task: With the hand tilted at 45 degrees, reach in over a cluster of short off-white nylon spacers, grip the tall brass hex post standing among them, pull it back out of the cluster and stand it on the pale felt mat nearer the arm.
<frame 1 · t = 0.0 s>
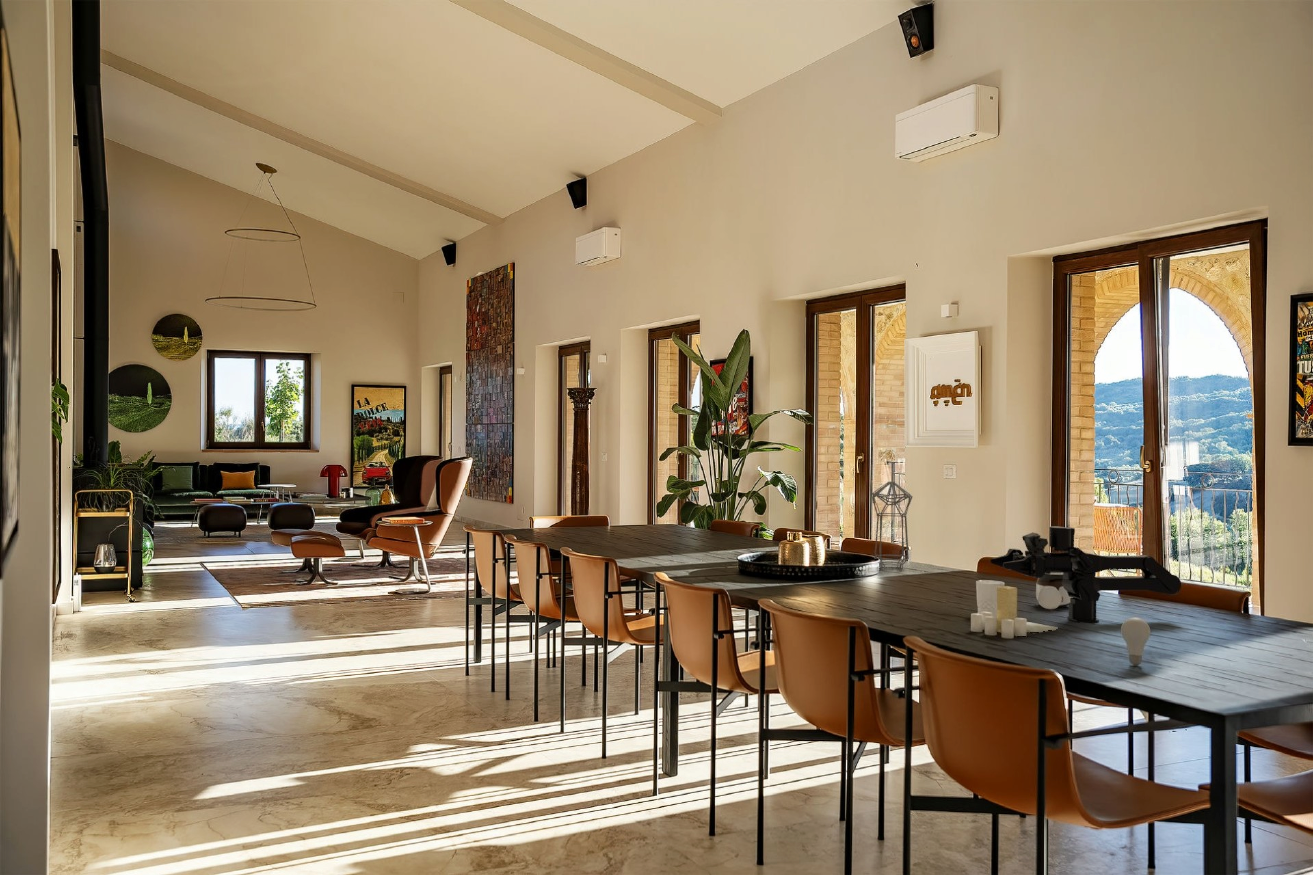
hand: (996, 562, 286), 17 cm above the table, tool horizontal, fingers open, 9 cm apart
lightbulb: (1135, 666, 230), on the table
white cup: (990, 616, 294), on the table
spread jar: (1053, 607, 311), on the table
geometric lantern: (890, 569, 400), on the table
spacers: (1006, 631, 270), on the table
brass post: (1006, 631, 270), on the table
mat: (1030, 628, 275), on the table
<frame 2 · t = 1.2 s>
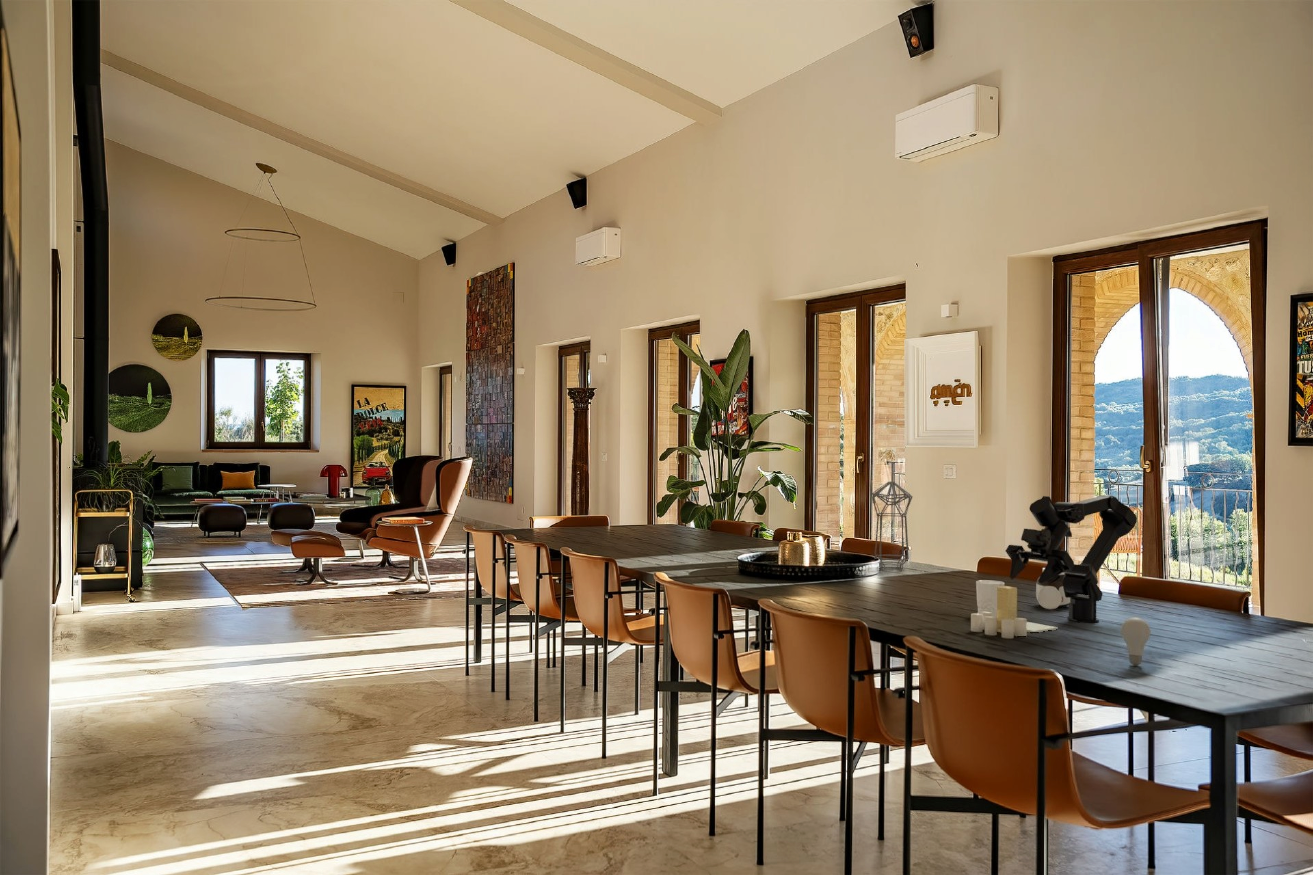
hand: (1025, 580, 274), 13 cm above the table, tool tilted 45°, fingers open, 9 cm apart
nothing on the table moved.
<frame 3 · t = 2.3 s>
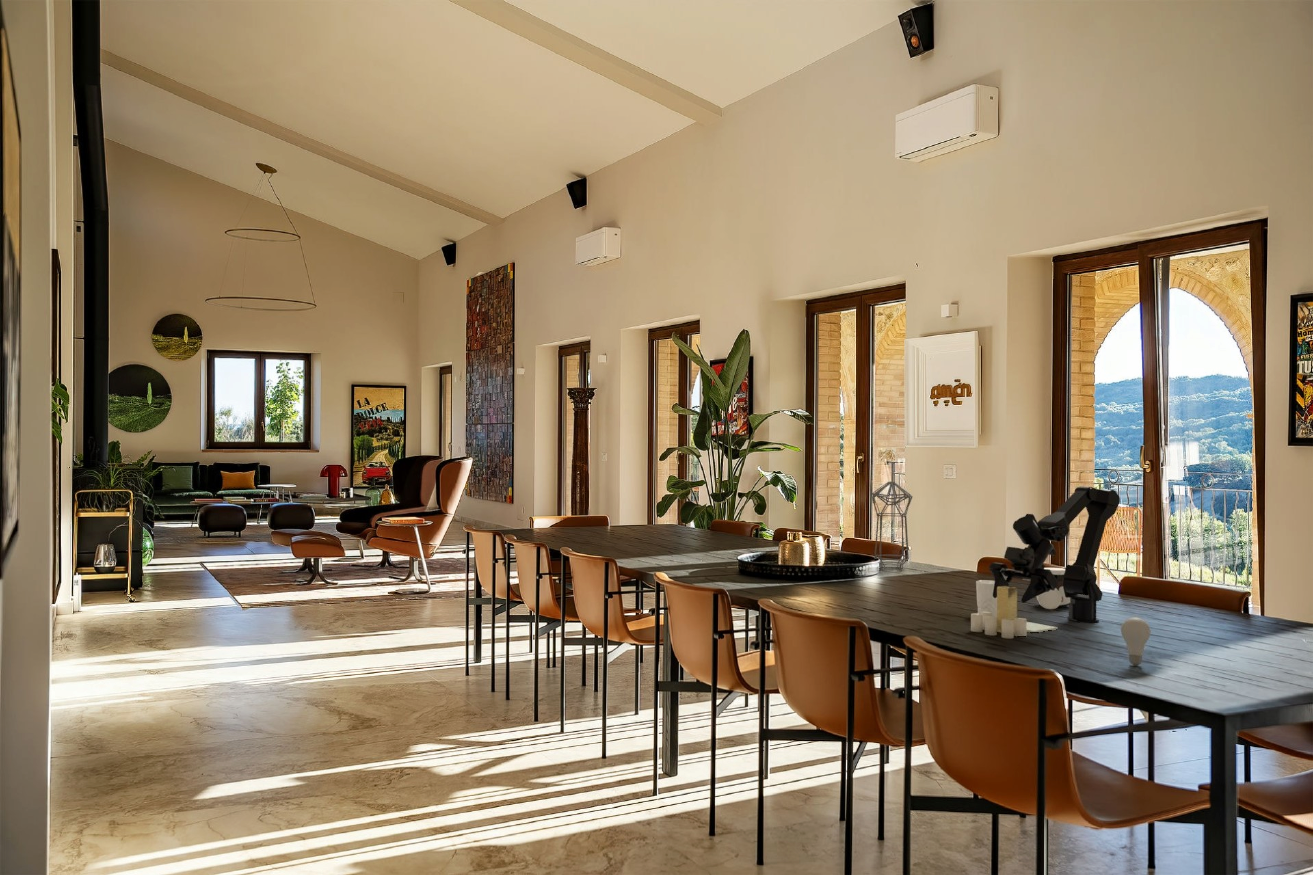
hand: (1007, 599, 270), 9 cm above the table, tool tilted 45°, fingers open, 9 cm apart
nothing on the table moved.
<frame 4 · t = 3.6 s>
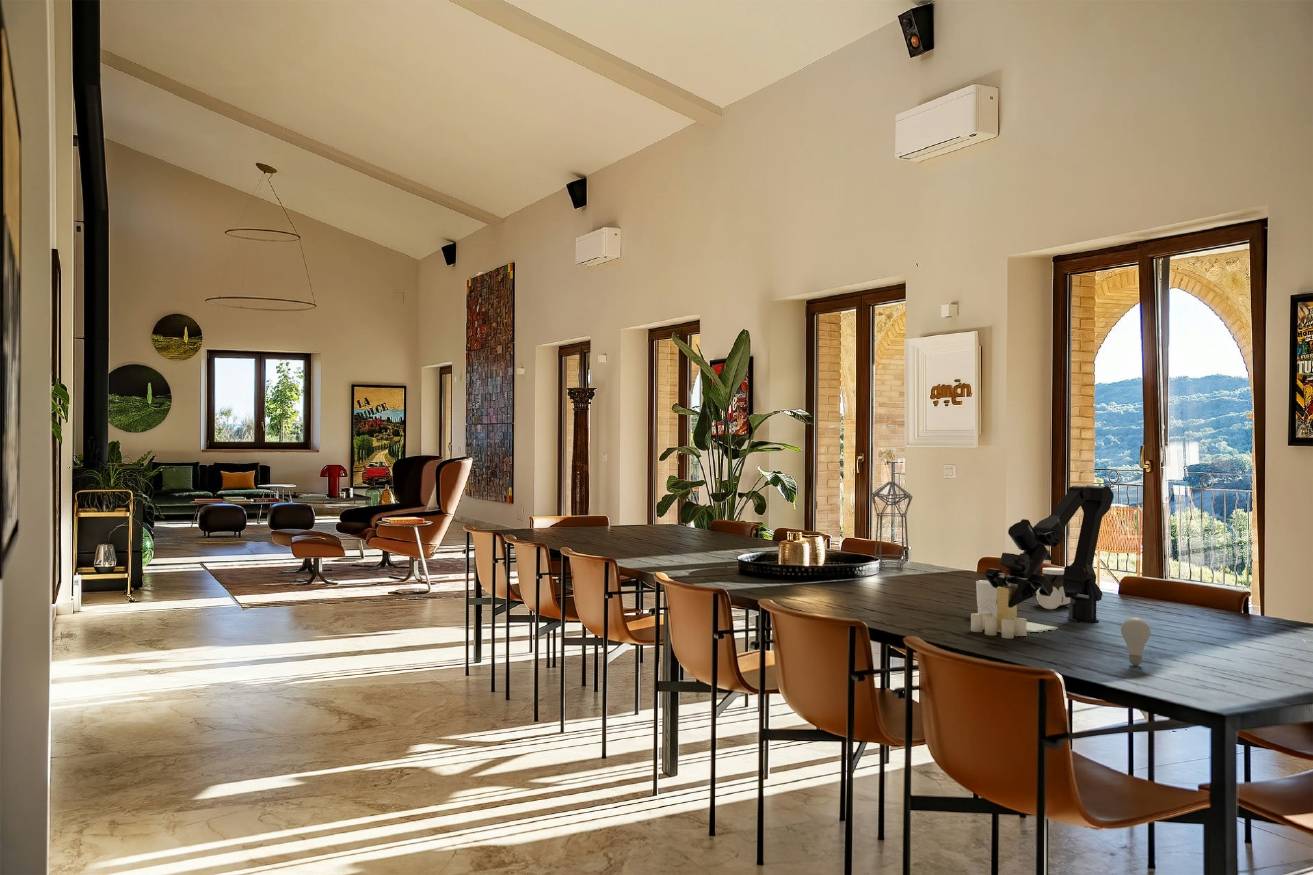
hand: (1003, 605, 269), 7 cm above the table, tool tilted 45°, fingers closed on brass post, 4 cm apart
brass post: (1006, 631, 270), on the table, touching gripper
everything else where it was.
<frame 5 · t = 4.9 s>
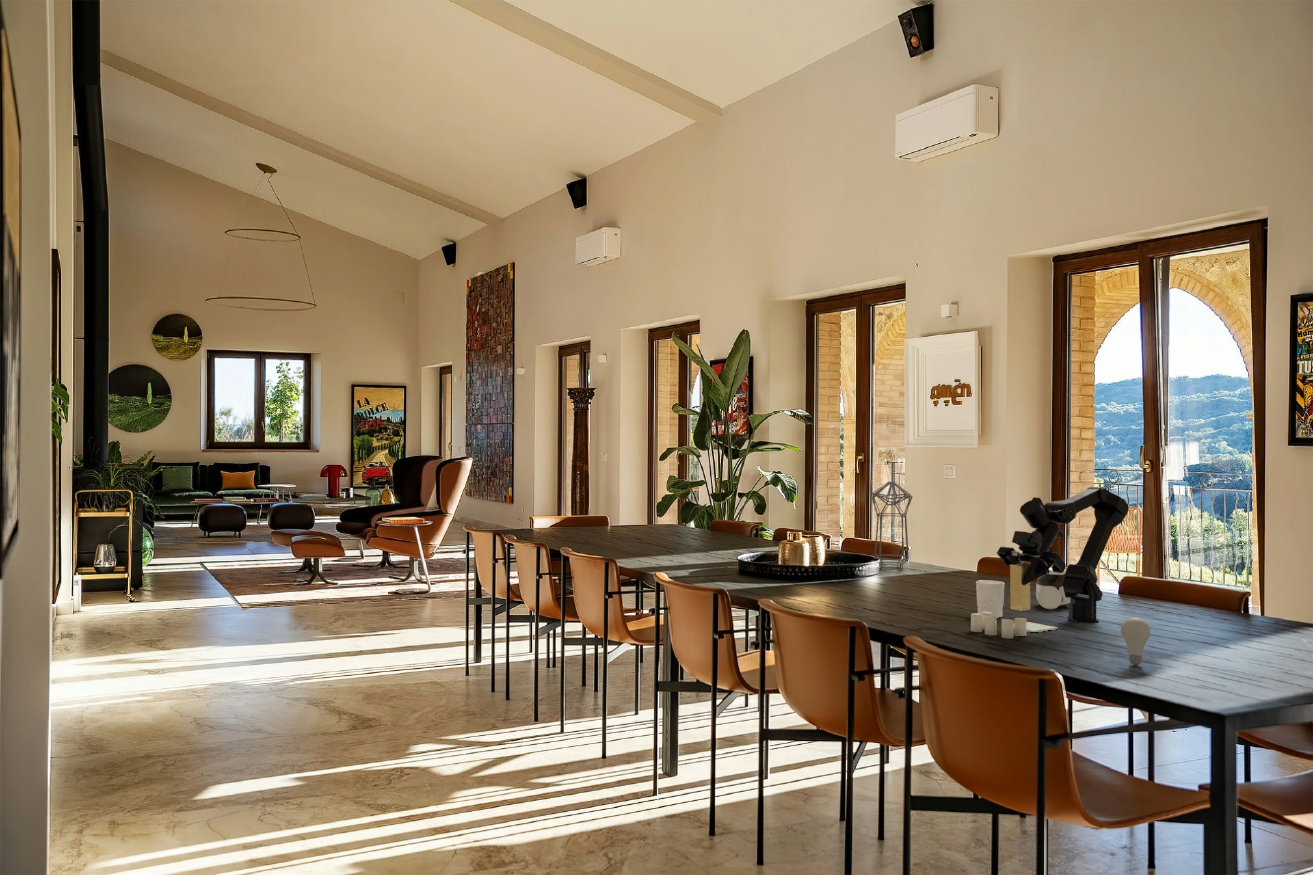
hand: (1016, 583, 272), 13 cm above the table, tool tilted 45°, fingers closed on brass post, 4 cm apart
brass post: (1020, 609, 273), point 6 cm above the table, touching gripper
everything else where it was.
when the fingers open (9 cm above the table, at t = 6.4 s): brass post stays where it is, resting on mat.
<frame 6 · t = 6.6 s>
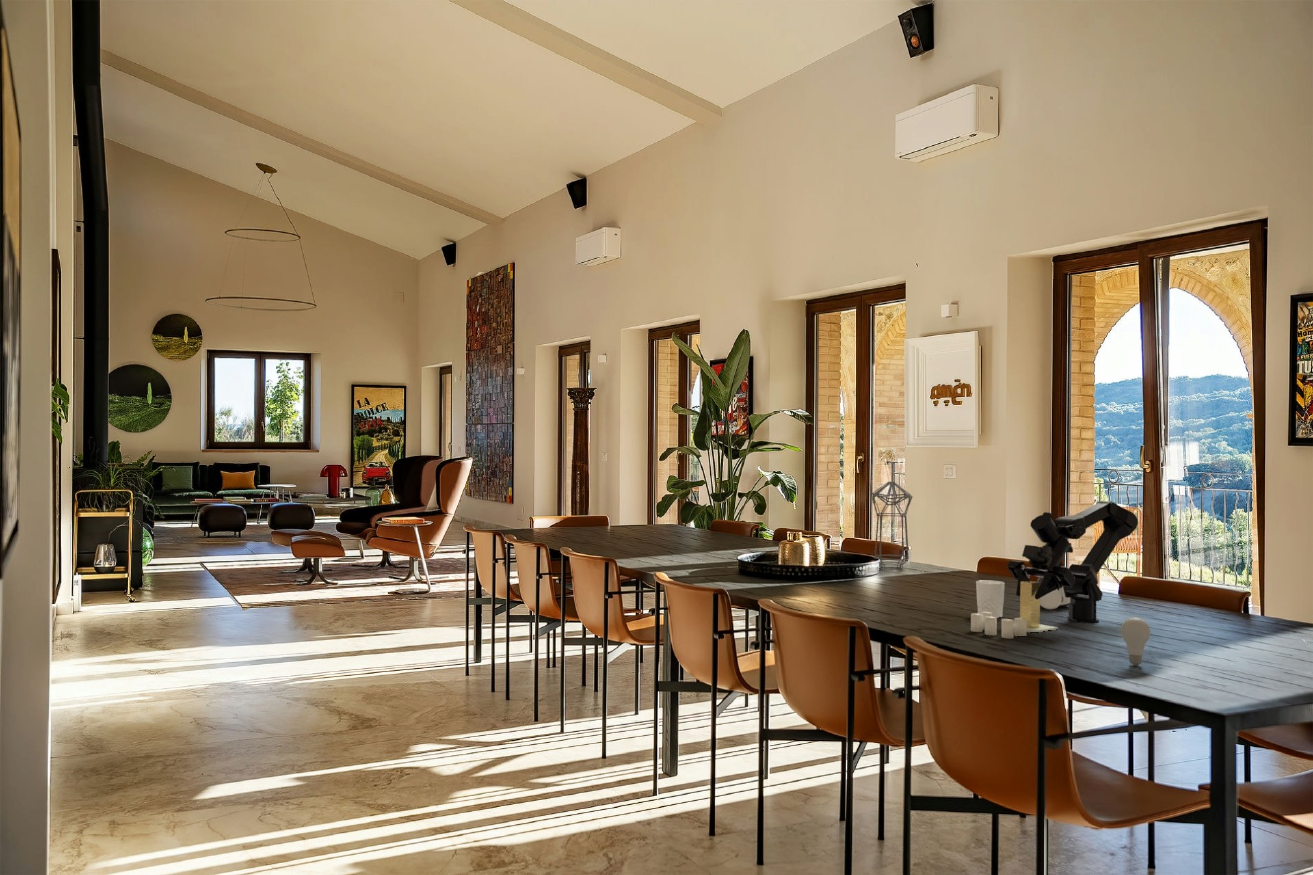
hand: (1026, 596, 275), 9 cm above the table, tool tilted 45°, fingers open, 6 cm apart
brass post: (1029, 626, 275), point 1 cm above the table, touching mat
everything else where it was.
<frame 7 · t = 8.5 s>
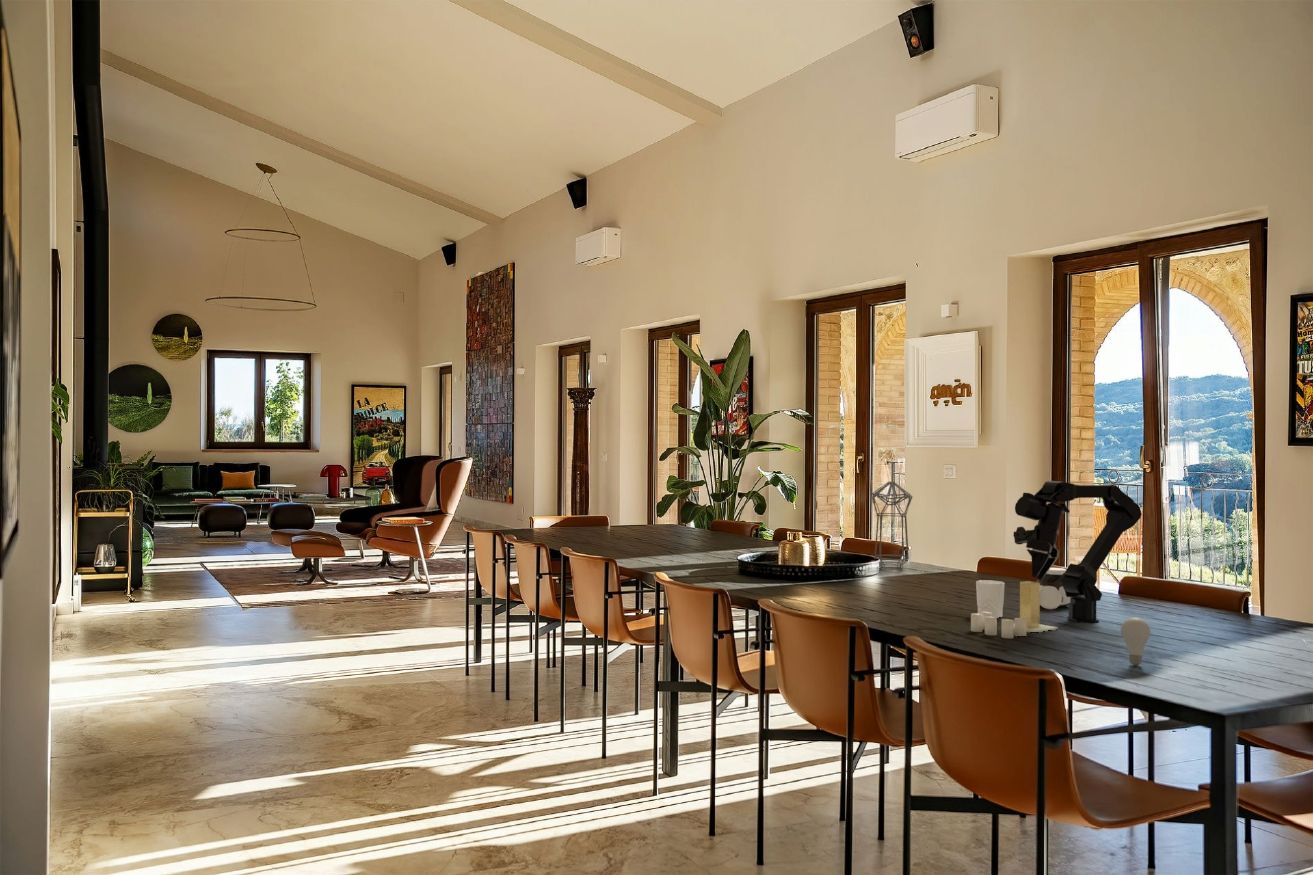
hand: (1036, 578, 283), 13 cm above the table, tool tilted 15°, fingers open, 9 cm apart
nothing on the table moved.
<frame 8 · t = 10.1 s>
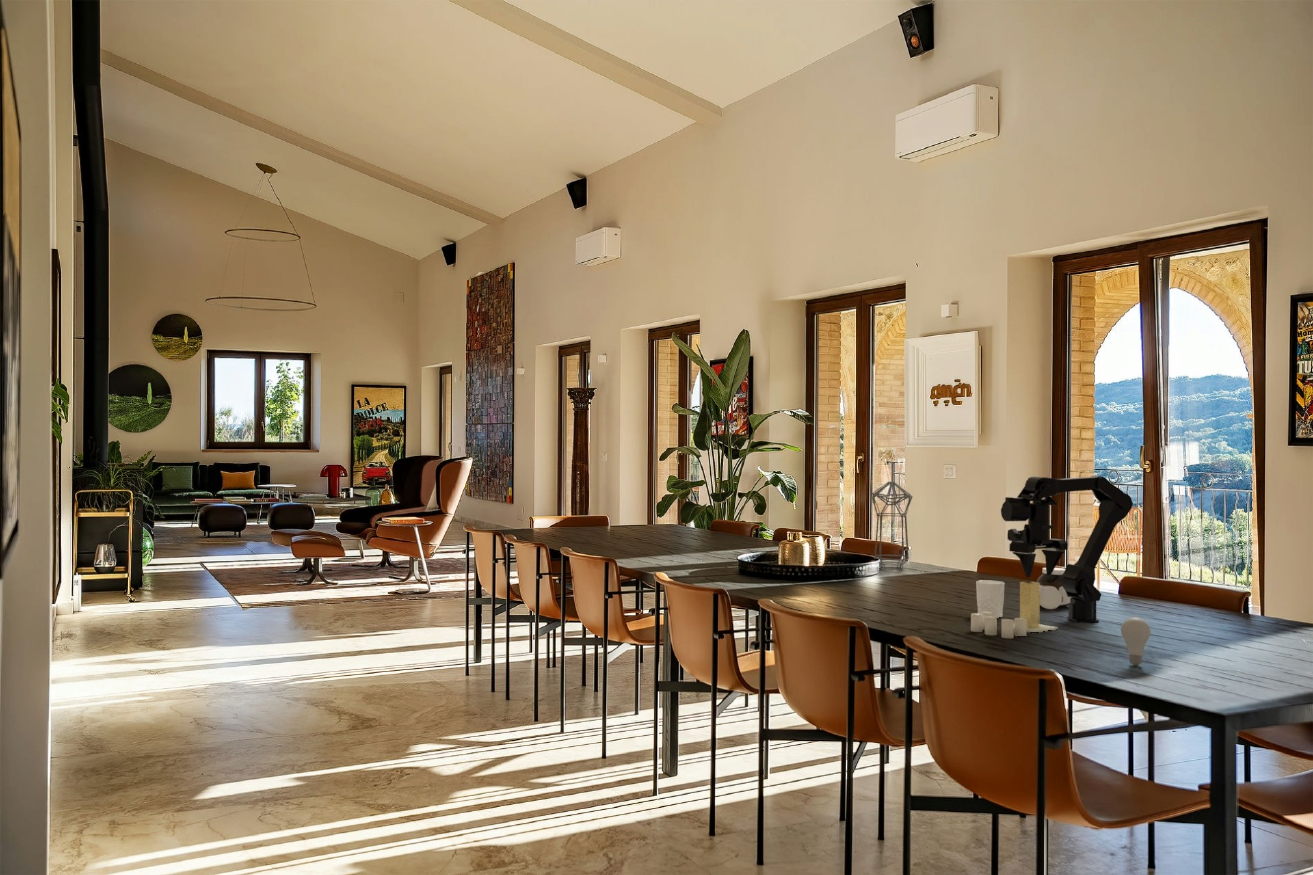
hand: (1038, 576, 285), 13 cm above the table, tool pointing down, fingers open, 9 cm apart
nothing on the table moved.
at the end: brass post 0.2 cm from the mat (horizontally); brass post point 0.6 cm above the table; the gripper is holding nothing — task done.
